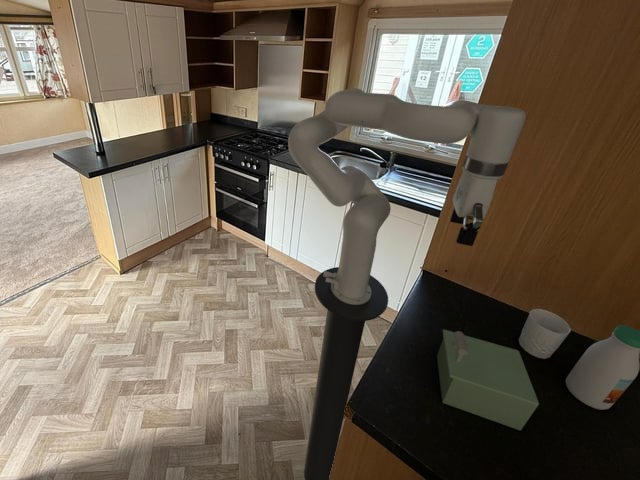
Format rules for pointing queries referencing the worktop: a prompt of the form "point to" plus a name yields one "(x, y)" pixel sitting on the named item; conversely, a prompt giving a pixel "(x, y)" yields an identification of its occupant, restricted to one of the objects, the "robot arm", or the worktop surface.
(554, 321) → the white cup
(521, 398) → the lid
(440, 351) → the chest
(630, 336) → the milk bottle
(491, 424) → the worktop surface
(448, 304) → the worktop surface
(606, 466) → the worktop surface
